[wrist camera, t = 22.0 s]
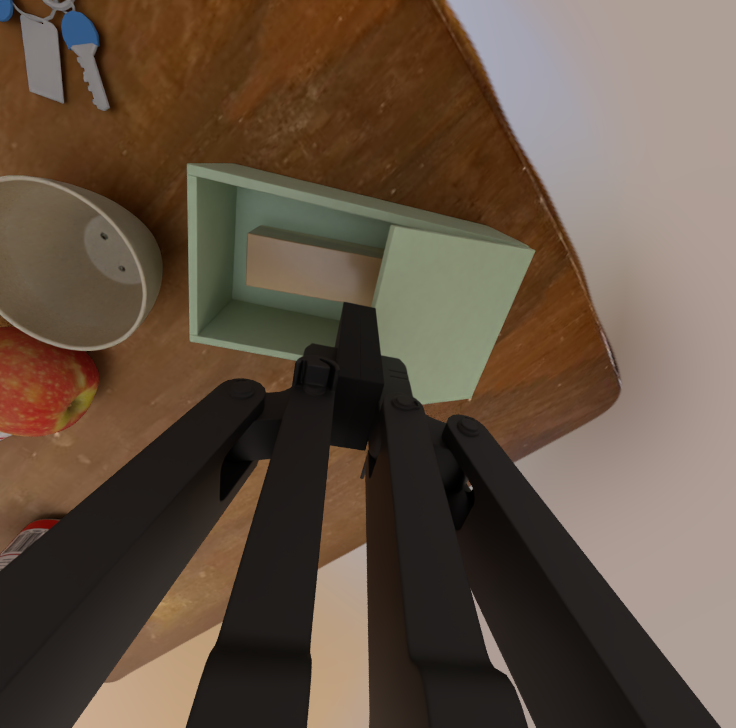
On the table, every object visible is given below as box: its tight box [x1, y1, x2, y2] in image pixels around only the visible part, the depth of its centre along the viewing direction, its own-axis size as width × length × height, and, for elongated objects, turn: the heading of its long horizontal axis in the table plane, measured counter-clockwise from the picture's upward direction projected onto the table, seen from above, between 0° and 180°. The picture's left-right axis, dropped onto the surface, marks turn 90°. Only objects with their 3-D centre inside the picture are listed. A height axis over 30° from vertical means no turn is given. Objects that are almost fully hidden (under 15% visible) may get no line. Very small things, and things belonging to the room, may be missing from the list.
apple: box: [0, 327, 99, 436], centre depth 28 cm, size 8×8×8 cm
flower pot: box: [0, 175, 163, 351], centre depth 24 cm, size 10×10×7 cm
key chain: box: [0, 0, 110, 111], centre depth 20 cm, size 14×8×1 cm, turn 122°
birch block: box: [246, 225, 385, 307], centre depth 26 cm, size 4×14×4 cm, turn 79°
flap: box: [371, 225, 535, 404], centre depth 20 cm, size 9×10×1 cm
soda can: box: [0, 519, 61, 571], centre depth 36 cm, size 8×8×15 cm
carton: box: [187, 163, 529, 361], centre depth 25 cm, size 18×10×8 cm, turn 77°
